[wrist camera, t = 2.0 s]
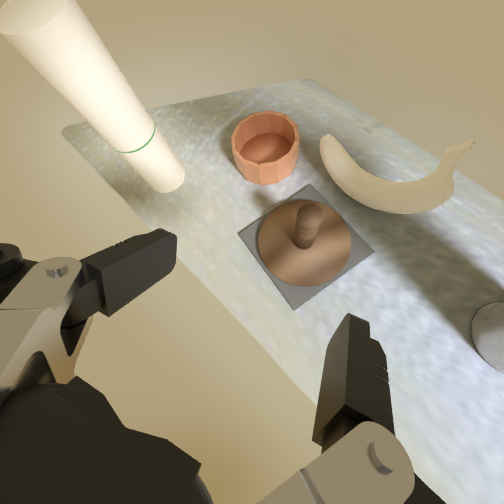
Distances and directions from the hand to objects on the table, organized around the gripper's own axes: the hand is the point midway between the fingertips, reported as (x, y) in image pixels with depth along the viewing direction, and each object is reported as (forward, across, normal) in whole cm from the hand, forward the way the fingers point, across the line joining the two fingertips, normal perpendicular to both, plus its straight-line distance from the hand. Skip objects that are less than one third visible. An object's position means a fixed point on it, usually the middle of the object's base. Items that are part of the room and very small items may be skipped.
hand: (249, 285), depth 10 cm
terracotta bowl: (+35, +12, +1) cm, 37 cm away
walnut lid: (+26, 0, +10) cm, 28 cm away
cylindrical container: (+28, +28, +8) cm, 41 cm away
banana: (+35, -5, +2) cm, 35 cm away
